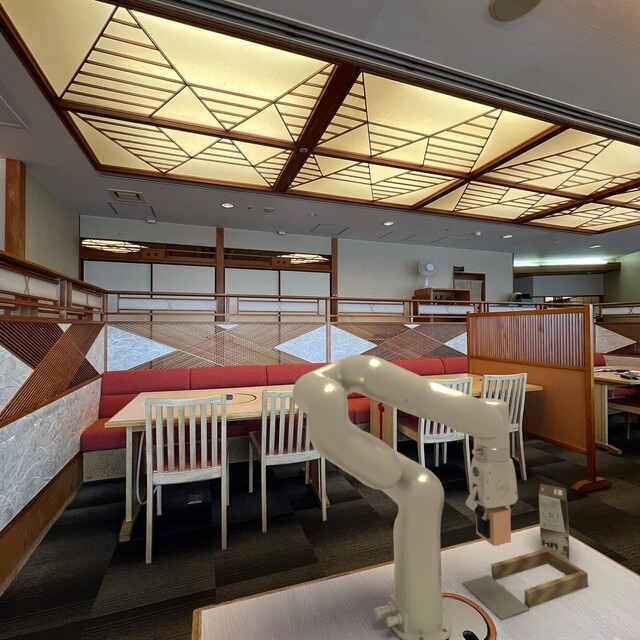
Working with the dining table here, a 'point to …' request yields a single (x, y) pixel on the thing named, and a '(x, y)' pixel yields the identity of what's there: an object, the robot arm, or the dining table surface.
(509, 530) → the block
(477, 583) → the mat
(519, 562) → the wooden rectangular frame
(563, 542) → the coffee box
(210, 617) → the dining table surface
